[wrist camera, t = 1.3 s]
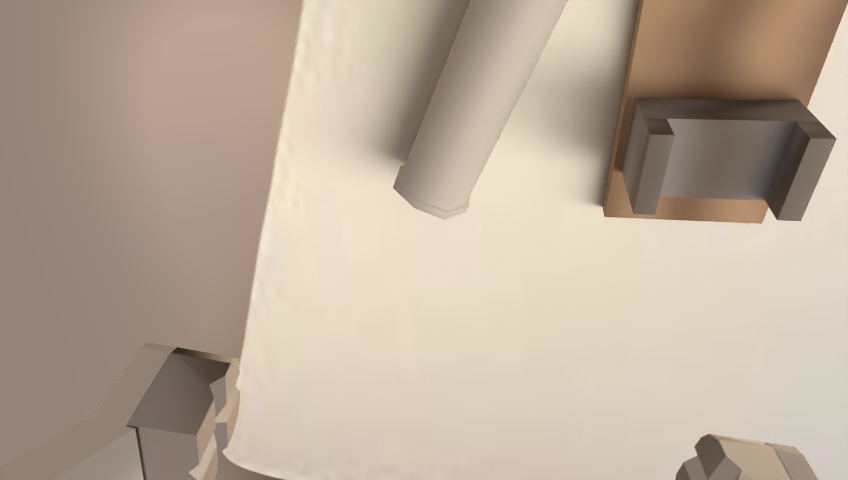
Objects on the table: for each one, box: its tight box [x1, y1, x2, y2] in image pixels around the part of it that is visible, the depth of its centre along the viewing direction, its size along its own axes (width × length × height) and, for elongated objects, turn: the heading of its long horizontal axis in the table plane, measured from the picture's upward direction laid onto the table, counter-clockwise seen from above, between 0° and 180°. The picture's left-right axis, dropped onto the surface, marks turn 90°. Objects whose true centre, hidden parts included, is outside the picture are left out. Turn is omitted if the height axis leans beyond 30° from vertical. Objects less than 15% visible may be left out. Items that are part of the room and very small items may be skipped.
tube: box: [393, 0, 568, 219], centre depth 30 cm, size 5×5×25 cm
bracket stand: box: [603, 0, 848, 223], centre depth 28 cm, size 10×28×6 cm, turn 2°
